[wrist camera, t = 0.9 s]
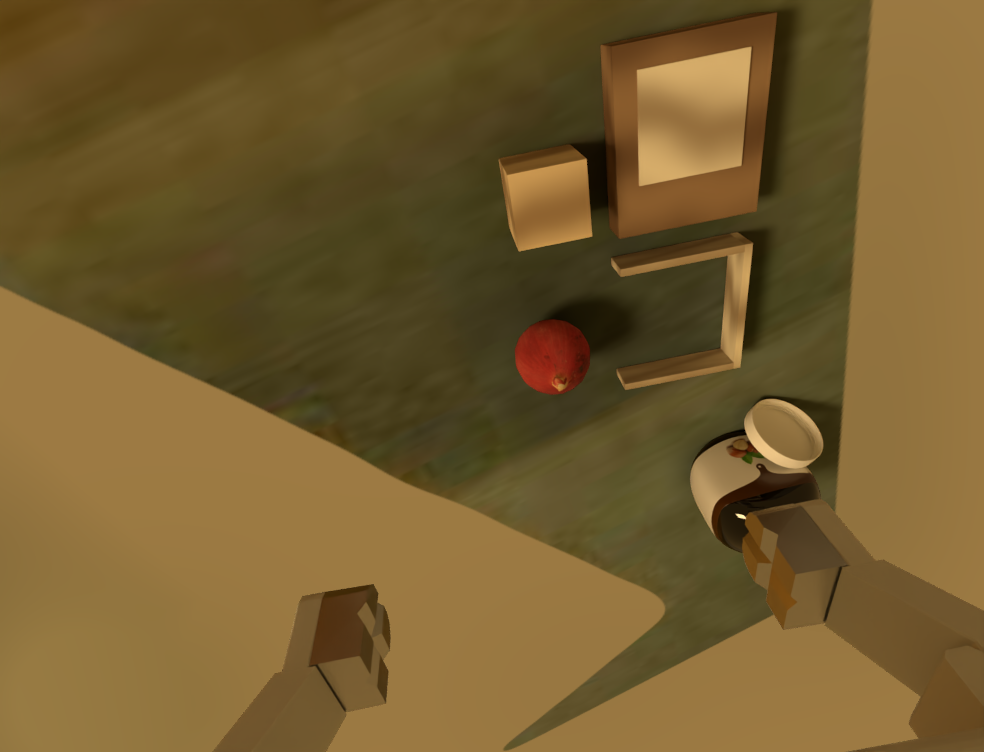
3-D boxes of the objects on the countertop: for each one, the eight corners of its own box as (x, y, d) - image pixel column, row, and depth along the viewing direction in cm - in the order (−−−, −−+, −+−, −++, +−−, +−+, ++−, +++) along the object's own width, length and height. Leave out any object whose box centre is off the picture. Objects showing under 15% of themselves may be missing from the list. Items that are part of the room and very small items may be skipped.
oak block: (498, 158, 37) (507, 175, 33) (569, 143, 37) (586, 158, 33) (509, 227, 40) (518, 251, 36) (575, 214, 40) (592, 236, 36)
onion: (577, 298, 44) (604, 347, 37) (578, 357, 47) (603, 413, 40) (507, 307, 44) (521, 358, 37) (512, 367, 47) (526, 424, 40)
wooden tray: (600, 44, 34) (612, 46, 32) (756, 12, 34) (779, 12, 32) (616, 374, 48) (626, 391, 46) (726, 352, 48) (741, 368, 46)
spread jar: (683, 495, 58) (734, 589, 48) (675, 416, 52) (731, 507, 42) (794, 465, 57) (868, 556, 48) (799, 382, 51) (886, 466, 41)
